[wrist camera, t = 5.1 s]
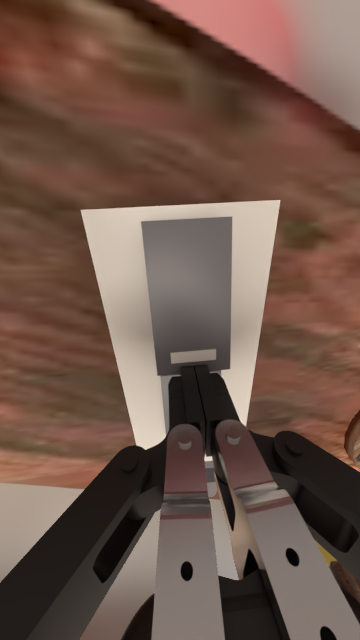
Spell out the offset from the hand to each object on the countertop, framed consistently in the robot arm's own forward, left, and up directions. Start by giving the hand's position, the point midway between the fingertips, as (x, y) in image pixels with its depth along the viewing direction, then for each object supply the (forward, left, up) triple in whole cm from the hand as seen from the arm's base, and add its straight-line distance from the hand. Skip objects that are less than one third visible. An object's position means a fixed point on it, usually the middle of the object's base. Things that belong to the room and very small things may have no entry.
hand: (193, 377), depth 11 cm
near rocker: (-4, 0, -2) cm, 5 cm away
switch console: (+5, 0, -8) cm, 9 cm away
